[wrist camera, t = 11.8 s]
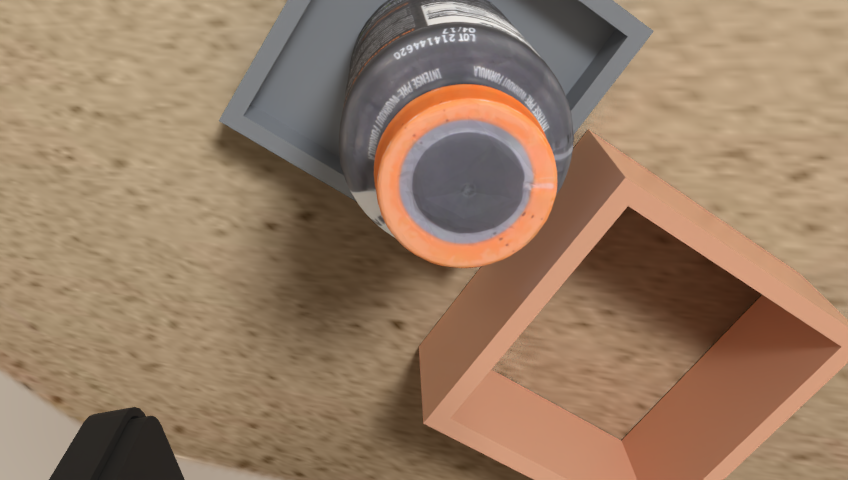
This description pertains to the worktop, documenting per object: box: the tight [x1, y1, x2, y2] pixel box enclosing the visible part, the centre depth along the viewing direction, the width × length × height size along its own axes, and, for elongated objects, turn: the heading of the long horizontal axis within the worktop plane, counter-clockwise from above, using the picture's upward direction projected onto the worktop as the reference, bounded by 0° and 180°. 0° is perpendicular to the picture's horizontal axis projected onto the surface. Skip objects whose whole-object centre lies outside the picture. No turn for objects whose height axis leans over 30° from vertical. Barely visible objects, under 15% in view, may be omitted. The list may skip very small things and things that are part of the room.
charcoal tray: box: [219, 0, 653, 202], centre depth 26 cm, size 10×10×2 cm
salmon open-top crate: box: [419, 129, 848, 480], centre depth 30 cm, size 11×11×5 cm
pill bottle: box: [339, 0, 574, 268], centre depth 21 cm, size 6×6×11 cm
